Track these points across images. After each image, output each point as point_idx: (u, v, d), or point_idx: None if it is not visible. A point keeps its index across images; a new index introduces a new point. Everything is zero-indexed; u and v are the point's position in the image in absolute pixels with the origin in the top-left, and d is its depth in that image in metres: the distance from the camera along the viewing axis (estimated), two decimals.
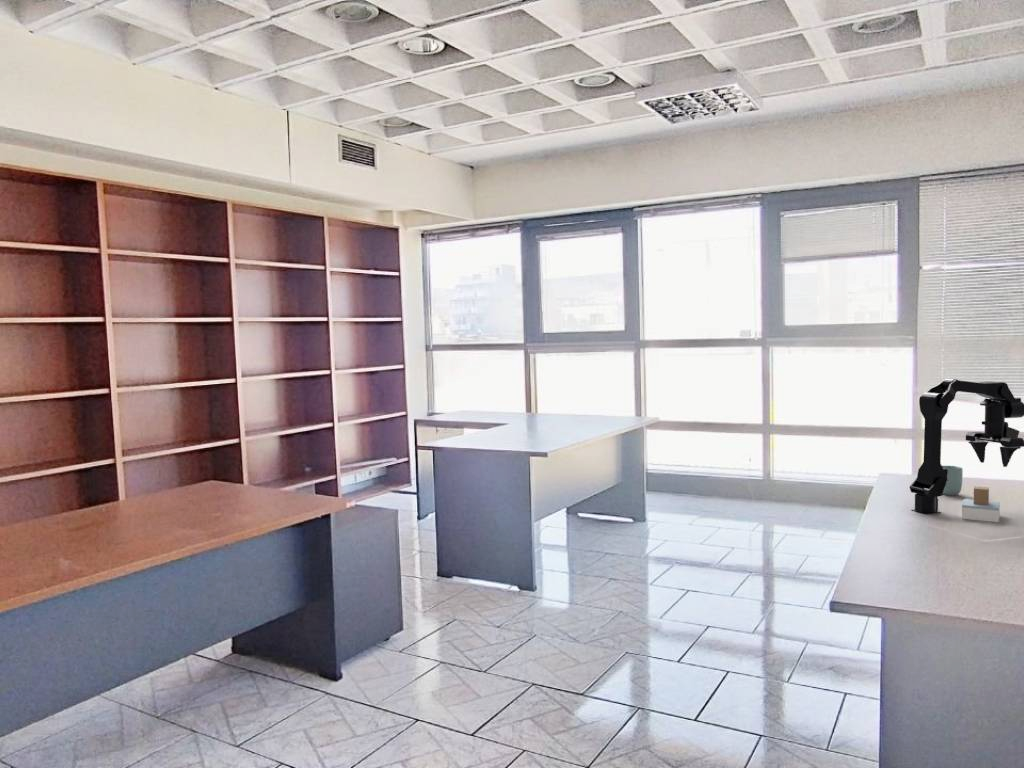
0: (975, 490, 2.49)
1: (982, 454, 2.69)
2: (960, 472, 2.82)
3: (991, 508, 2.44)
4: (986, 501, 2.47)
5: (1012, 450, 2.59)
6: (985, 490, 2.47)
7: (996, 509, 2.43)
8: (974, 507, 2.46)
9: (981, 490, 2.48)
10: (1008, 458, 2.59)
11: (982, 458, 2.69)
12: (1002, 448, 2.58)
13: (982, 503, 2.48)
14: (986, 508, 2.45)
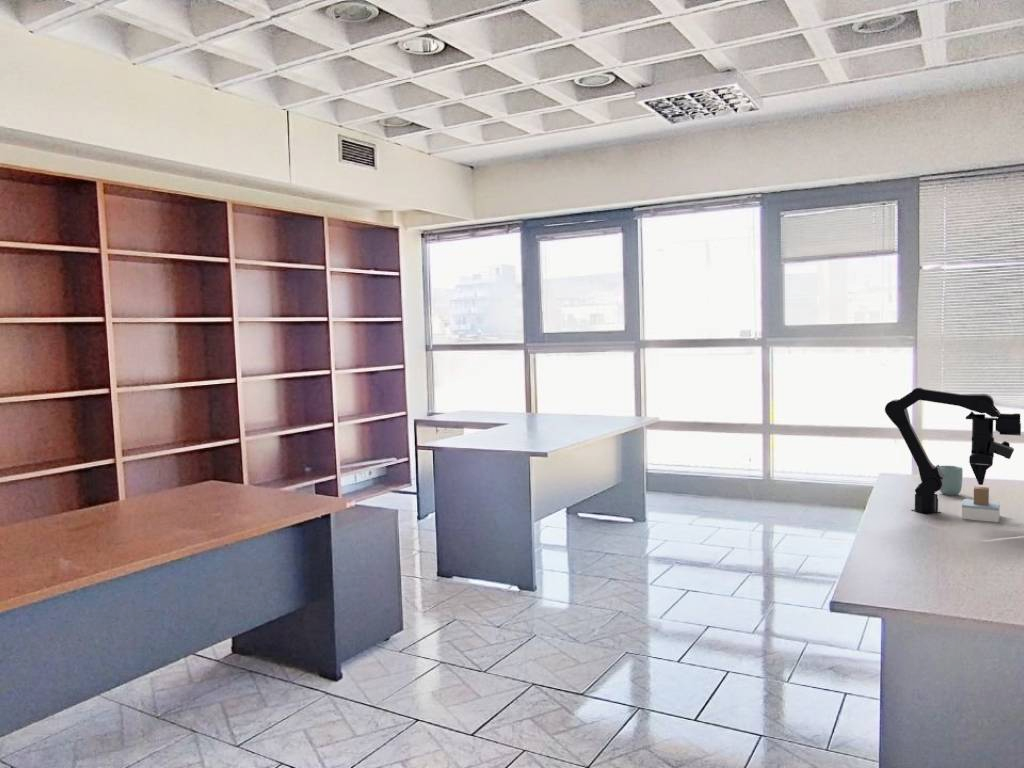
0: (975, 490, 2.49)
1: None
2: (960, 472, 2.82)
3: (991, 508, 2.44)
4: (986, 501, 2.47)
5: (984, 468, 2.43)
6: (985, 490, 2.47)
7: (996, 509, 2.43)
8: (974, 507, 2.46)
9: (981, 490, 2.48)
10: (981, 476, 2.44)
11: None
12: (970, 464, 2.45)
13: (982, 503, 2.48)
14: (986, 508, 2.45)
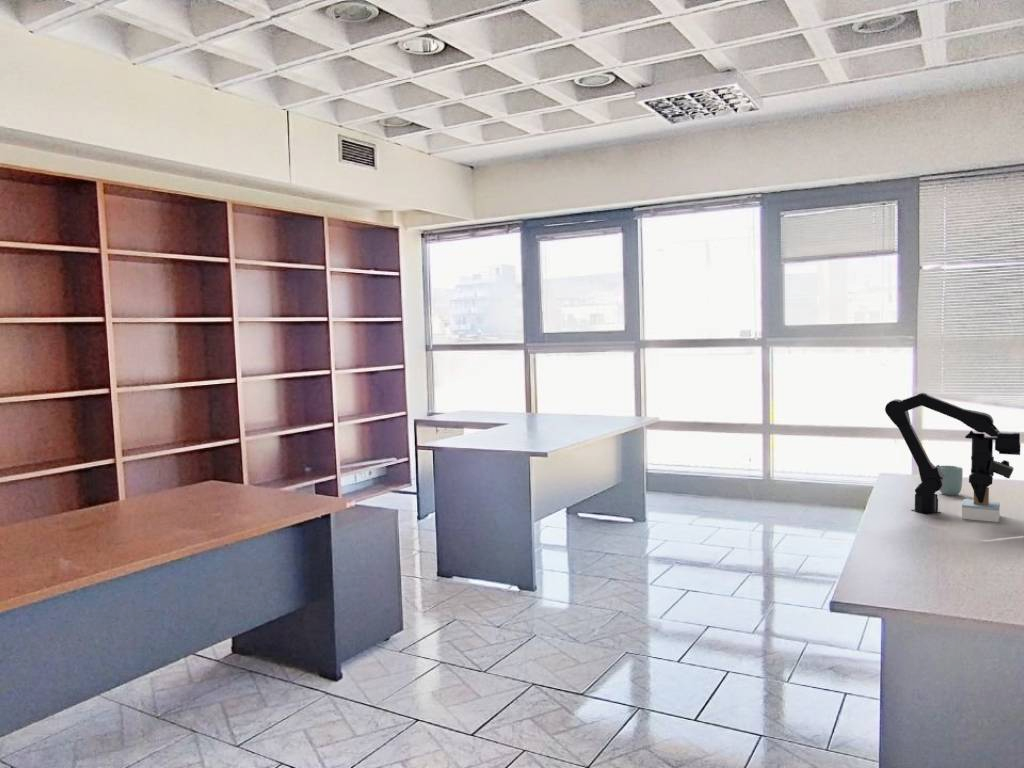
0: None
1: None
2: (960, 472, 2.82)
3: (991, 508, 2.44)
4: (986, 501, 2.47)
5: (984, 486, 2.45)
6: None
7: (996, 509, 2.43)
8: (974, 507, 2.46)
9: None
10: (981, 494, 2.47)
11: None
12: None
13: (982, 503, 2.48)
14: (986, 508, 2.45)
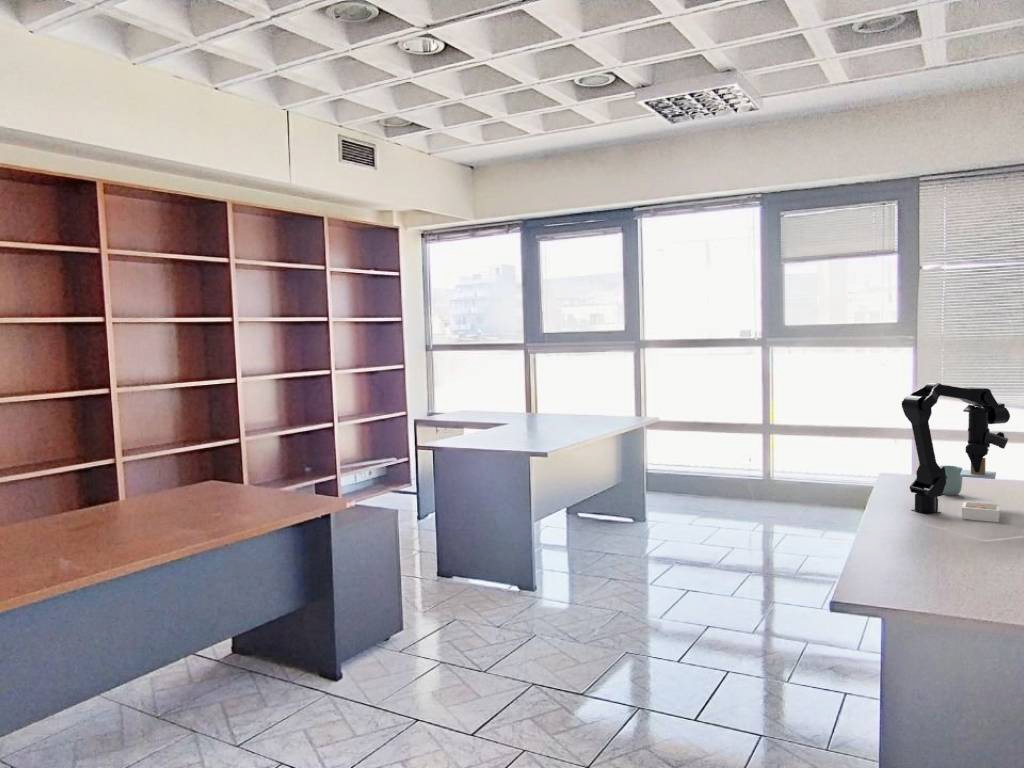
0: None
1: None
2: (960, 472, 2.82)
3: (987, 477, 2.58)
4: (982, 470, 2.61)
5: (980, 456, 2.59)
6: None
7: (992, 478, 2.57)
8: (971, 476, 2.60)
9: None
10: (977, 463, 2.60)
11: None
12: None
13: (979, 472, 2.61)
14: (982, 477, 2.58)
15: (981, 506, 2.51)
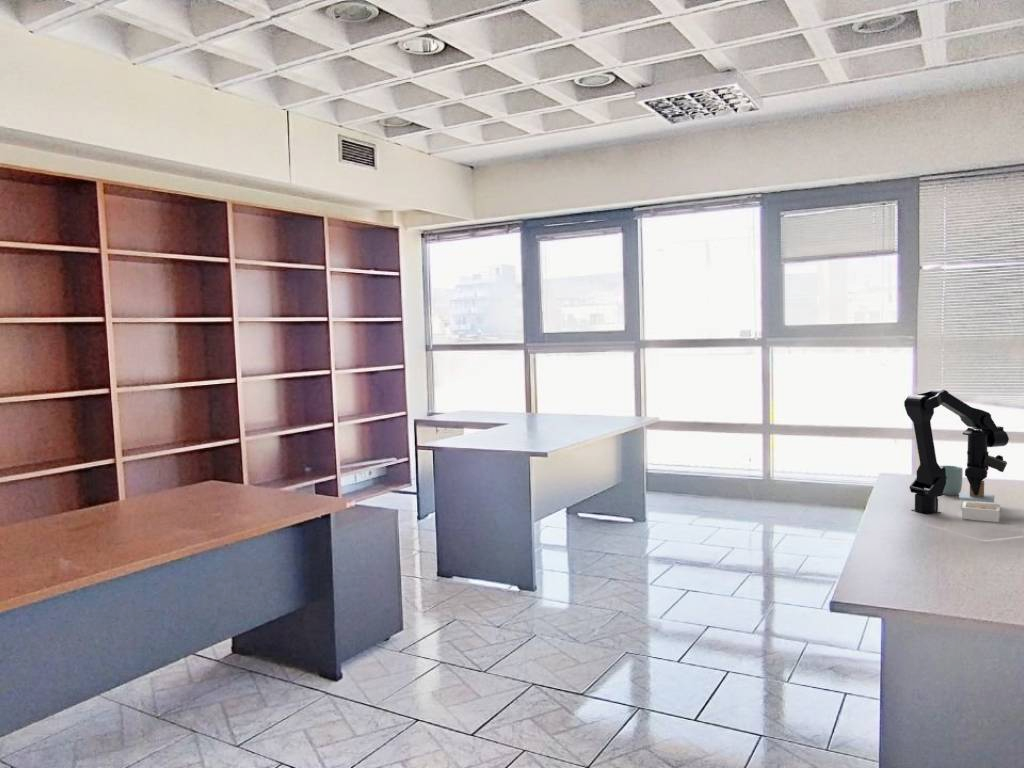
0: None
1: None
2: (960, 472, 2.82)
3: (986, 500, 2.58)
4: (981, 493, 2.62)
5: (979, 479, 2.60)
6: None
7: (991, 501, 2.58)
8: (970, 499, 2.61)
9: None
10: (976, 486, 2.61)
11: None
12: None
13: (978, 495, 2.62)
14: (981, 500, 2.59)
15: (981, 506, 2.51)
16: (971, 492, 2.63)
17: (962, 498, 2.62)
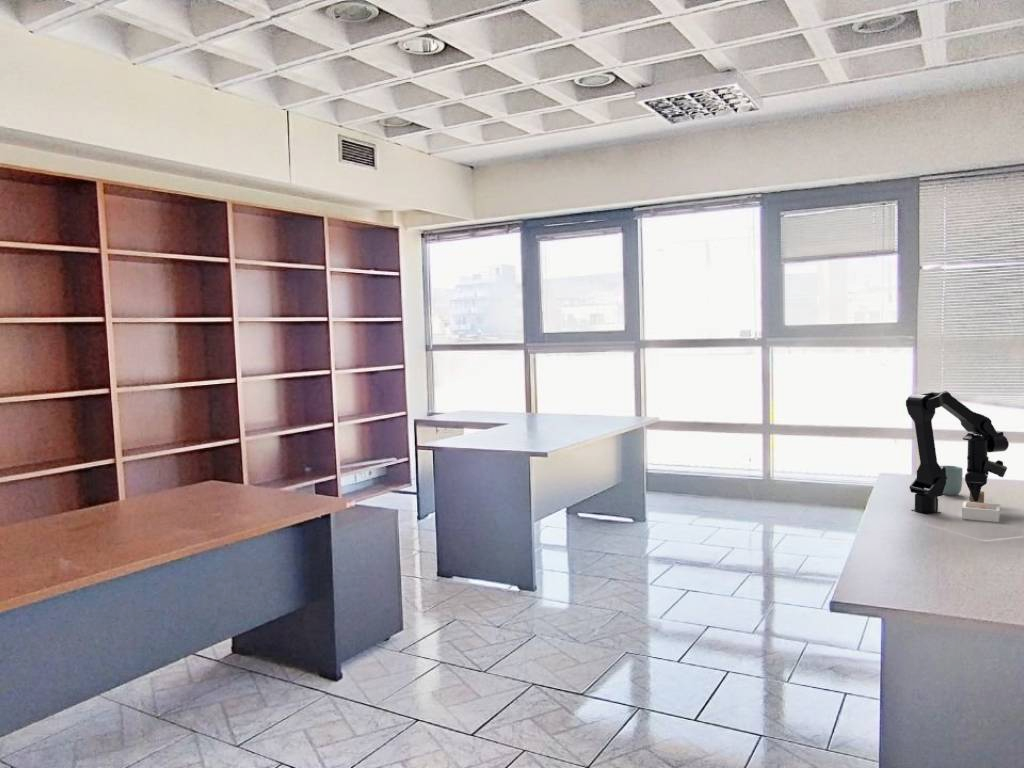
0: None
1: None
2: (960, 472, 2.82)
3: None
4: None
5: (979, 485, 2.58)
6: (980, 494, 2.62)
7: None
8: None
9: None
10: (976, 493, 2.60)
11: None
12: (966, 482, 2.61)
13: None
14: None
15: (981, 506, 2.51)
16: None
17: None
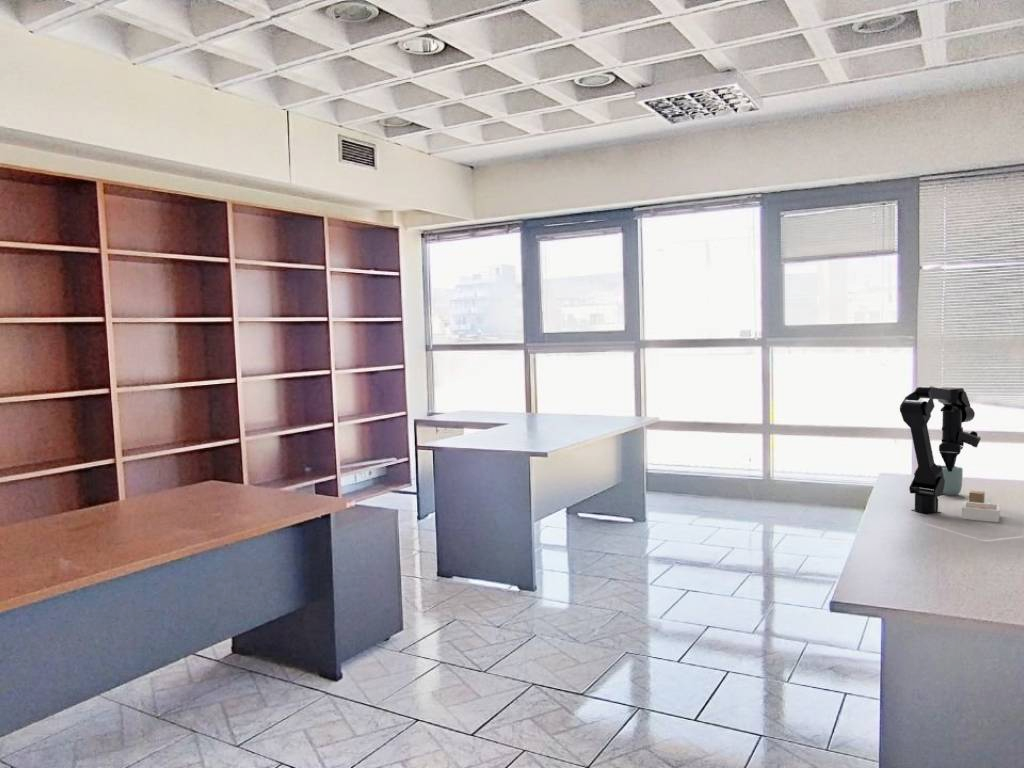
0: (970, 494, 2.63)
1: None
2: (960, 472, 2.82)
3: None
4: None
5: (953, 455, 2.62)
6: (980, 494, 2.62)
7: None
8: None
9: (976, 494, 2.63)
10: (950, 463, 2.63)
11: None
12: (940, 452, 2.64)
13: None
14: None
15: (981, 506, 2.51)
16: None
17: None
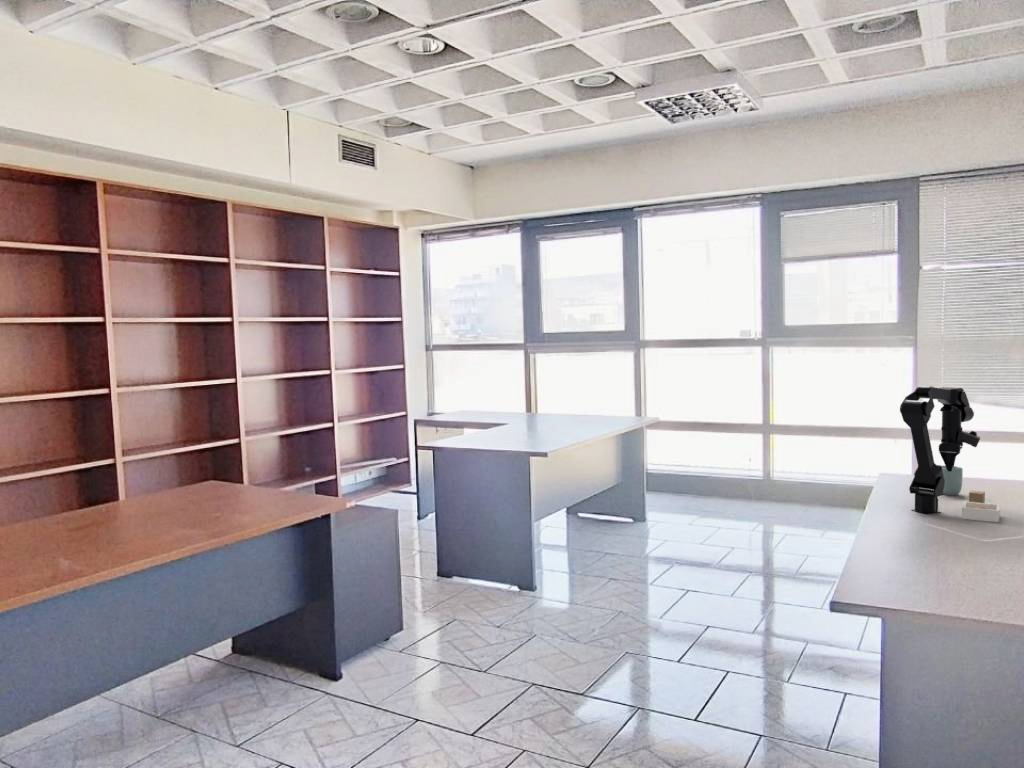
0: (970, 494, 2.64)
1: None
2: (960, 472, 2.82)
3: None
4: None
5: (952, 455, 2.62)
6: (979, 494, 2.62)
7: None
8: None
9: (976, 494, 2.63)
10: (950, 463, 2.63)
11: None
12: None
13: None
14: None
15: (981, 506, 2.51)
16: None
17: None
